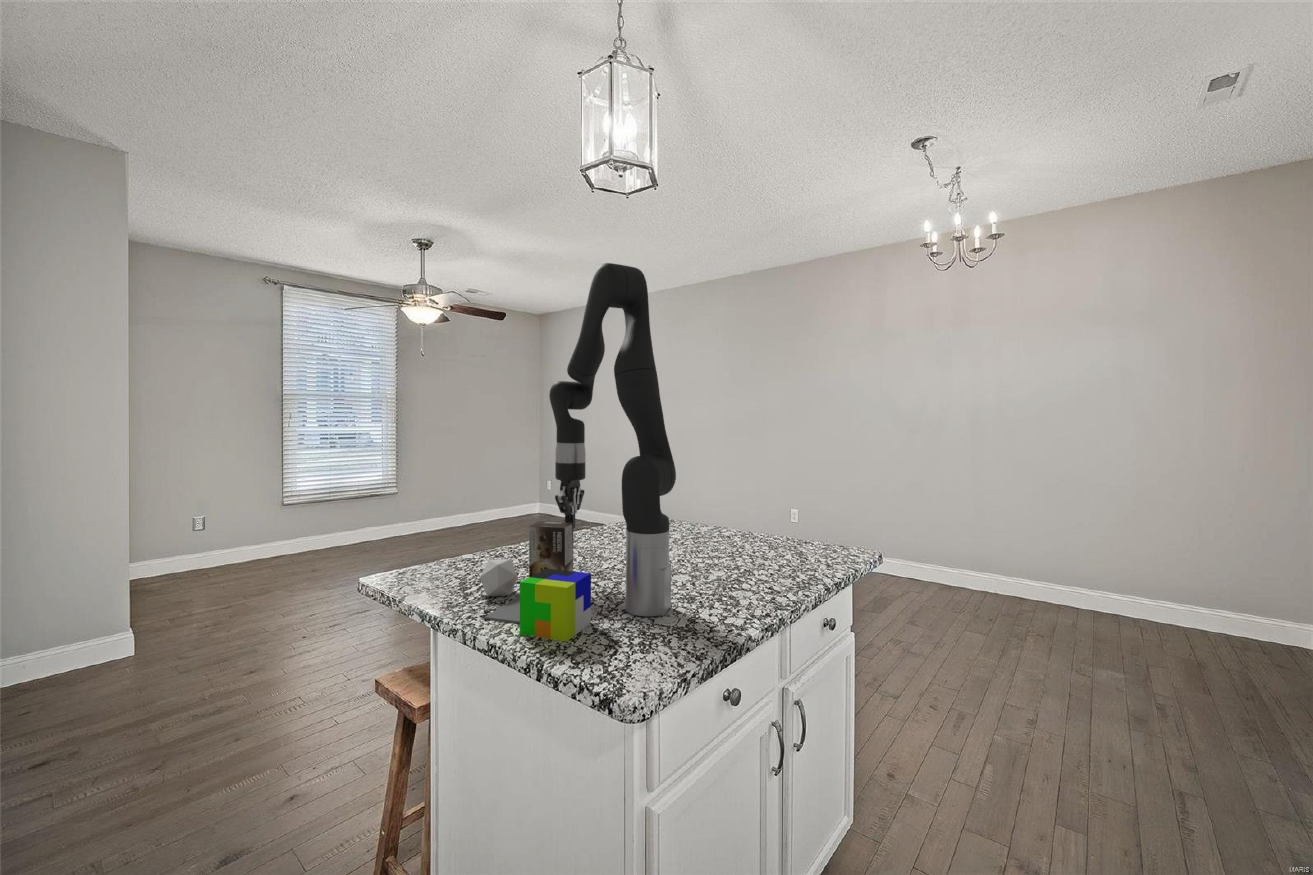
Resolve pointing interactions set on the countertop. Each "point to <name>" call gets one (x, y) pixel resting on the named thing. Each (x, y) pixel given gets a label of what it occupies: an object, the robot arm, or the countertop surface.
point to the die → (499, 577)
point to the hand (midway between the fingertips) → (570, 528)
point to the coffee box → (550, 546)
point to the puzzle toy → (555, 604)
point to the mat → (507, 612)
